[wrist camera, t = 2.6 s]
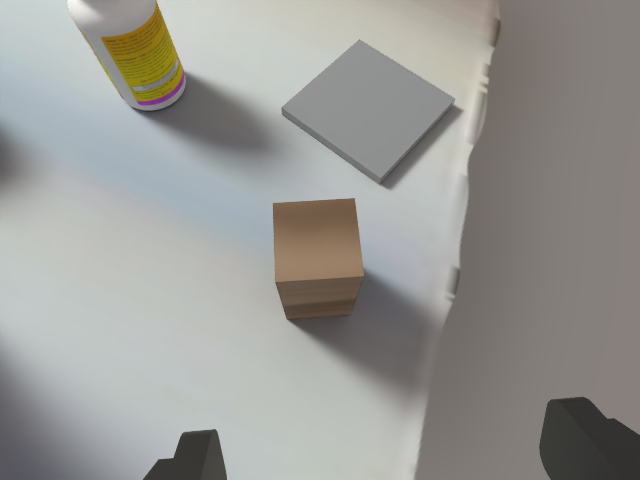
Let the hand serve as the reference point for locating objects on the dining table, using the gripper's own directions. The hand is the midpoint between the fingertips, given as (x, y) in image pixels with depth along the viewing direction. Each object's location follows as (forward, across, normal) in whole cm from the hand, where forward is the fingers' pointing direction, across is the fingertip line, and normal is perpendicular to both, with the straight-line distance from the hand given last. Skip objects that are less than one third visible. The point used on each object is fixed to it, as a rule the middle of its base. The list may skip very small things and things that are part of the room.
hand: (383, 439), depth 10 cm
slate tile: (+34, -5, -5) cm, 35 cm away
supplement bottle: (+37, +16, -8) cm, 41 cm away
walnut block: (+22, +1, +8) cm, 23 cm away
